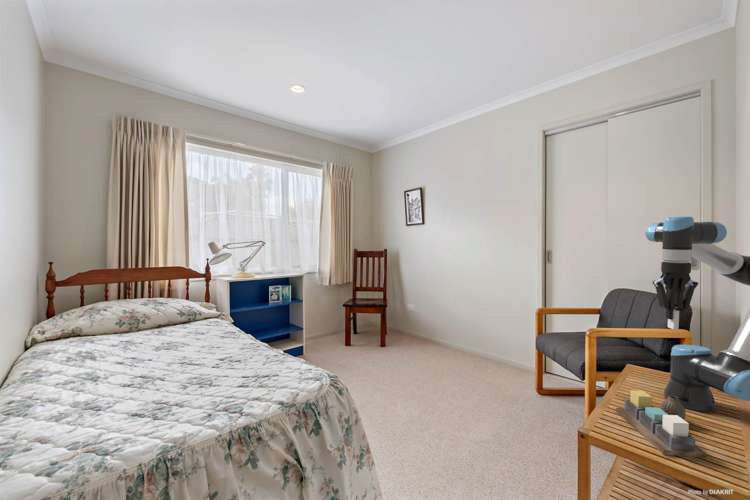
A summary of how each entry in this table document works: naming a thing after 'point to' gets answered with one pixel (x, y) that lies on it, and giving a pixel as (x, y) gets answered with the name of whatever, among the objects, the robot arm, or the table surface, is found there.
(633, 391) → the plunger ochre
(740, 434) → the table surface
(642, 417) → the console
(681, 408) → the vase
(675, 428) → the plunger cream
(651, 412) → the plunger teal
